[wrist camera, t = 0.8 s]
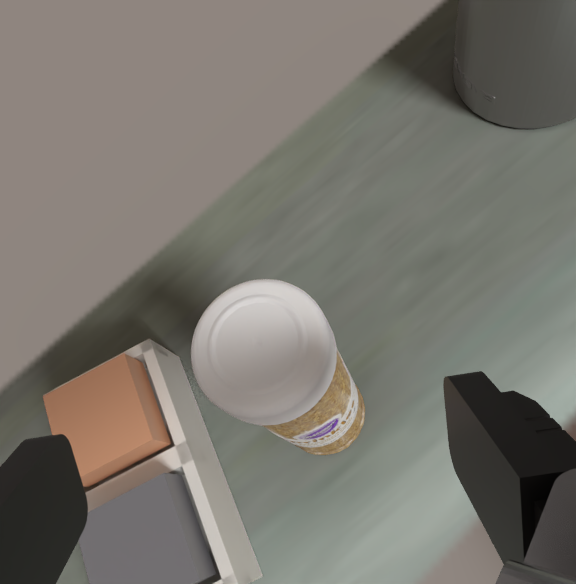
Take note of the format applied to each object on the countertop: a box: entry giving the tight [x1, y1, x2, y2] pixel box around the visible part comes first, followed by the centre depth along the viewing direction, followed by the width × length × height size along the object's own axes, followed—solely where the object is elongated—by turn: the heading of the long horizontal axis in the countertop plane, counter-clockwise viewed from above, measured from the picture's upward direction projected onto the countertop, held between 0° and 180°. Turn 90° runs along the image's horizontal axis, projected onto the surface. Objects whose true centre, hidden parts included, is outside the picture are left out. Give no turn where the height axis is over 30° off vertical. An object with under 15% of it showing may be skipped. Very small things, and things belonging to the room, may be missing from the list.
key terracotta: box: [43, 353, 171, 487], centre depth 26 cm, size 5×5×2 cm
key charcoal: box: [79, 473, 216, 584], centre depth 24 cm, size 5×5×2 cm
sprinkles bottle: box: [191, 279, 365, 455], centre depth 23 cm, size 5×5×13 cm
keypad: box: [43, 339, 263, 584], centre depth 27 cm, size 6×13×4 cm, turn 25°
